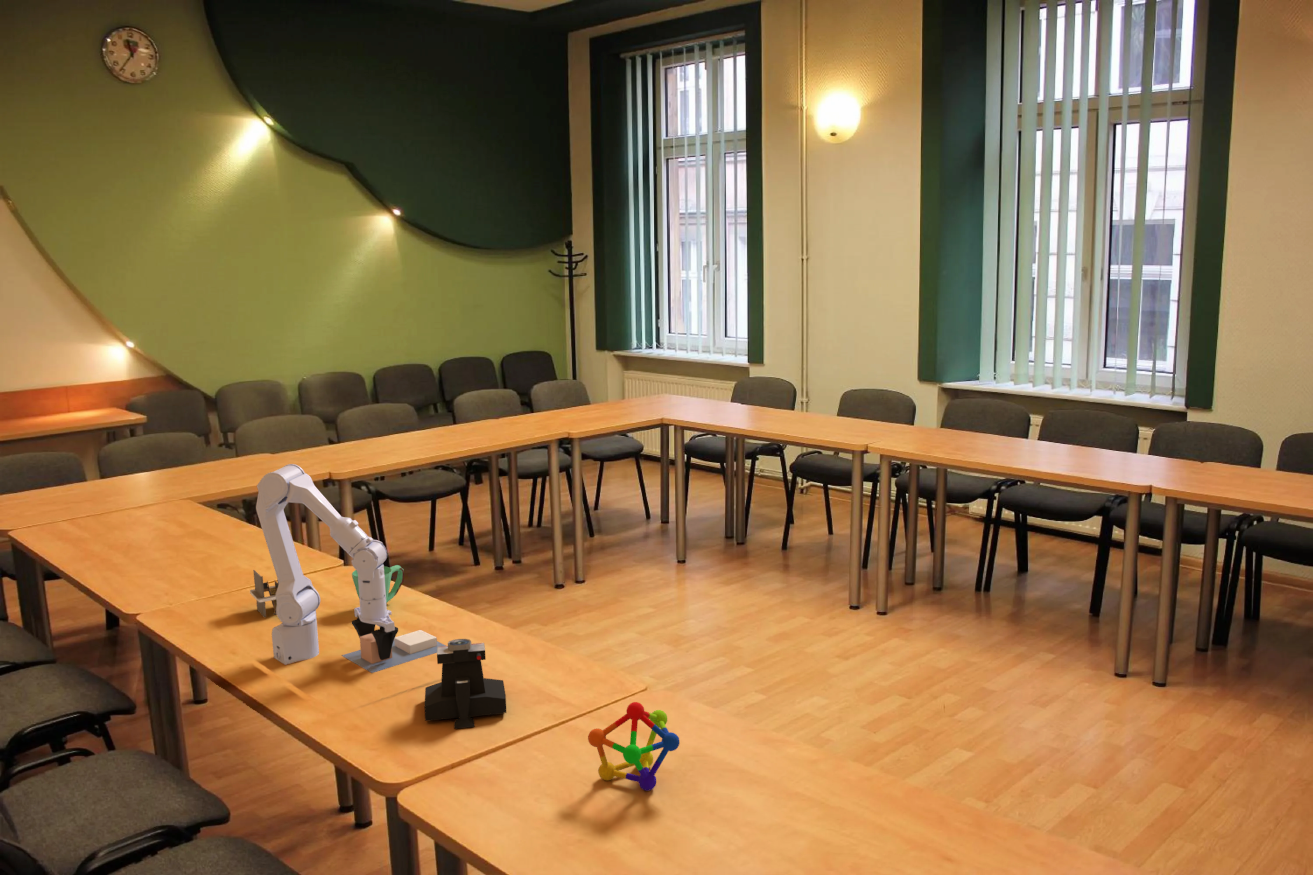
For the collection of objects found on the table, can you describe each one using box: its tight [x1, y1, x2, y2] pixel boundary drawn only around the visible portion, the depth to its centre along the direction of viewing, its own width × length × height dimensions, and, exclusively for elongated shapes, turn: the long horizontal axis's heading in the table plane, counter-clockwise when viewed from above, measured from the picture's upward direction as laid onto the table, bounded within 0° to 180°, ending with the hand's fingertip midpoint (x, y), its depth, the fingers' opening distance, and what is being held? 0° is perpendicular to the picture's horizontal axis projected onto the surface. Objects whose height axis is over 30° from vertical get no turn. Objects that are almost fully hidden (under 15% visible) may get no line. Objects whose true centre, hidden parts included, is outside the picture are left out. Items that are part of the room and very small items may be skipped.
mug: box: [351, 564, 405, 604], centre depth 280 cm, size 15×10×10 cm
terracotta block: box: [359, 633, 392, 664], centre depth 244 cm, size 5×5×5 cm
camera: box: [424, 638, 507, 729], centre depth 218 cm, size 16×14×15 cm
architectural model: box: [249, 569, 279, 618], centre depth 277 cm, size 19×17×11 cm
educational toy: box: [587, 701, 681, 792], centre depth 189 cm, size 16×13×15 cm
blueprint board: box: [341, 629, 447, 674], centre depth 248 cm, size 20×14×3 cm
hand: (376, 653), depth 245 cm, fingers open, 7 cm apart
